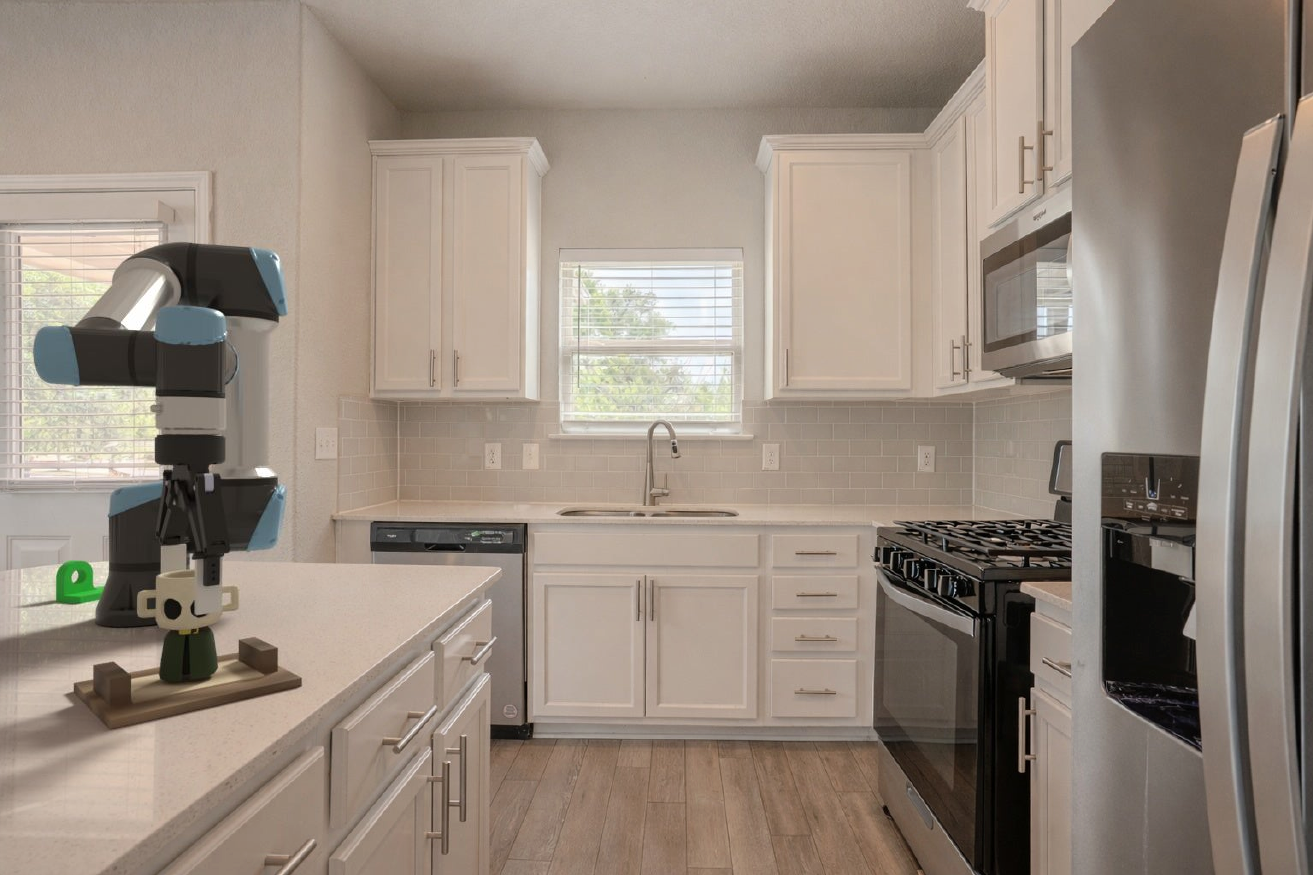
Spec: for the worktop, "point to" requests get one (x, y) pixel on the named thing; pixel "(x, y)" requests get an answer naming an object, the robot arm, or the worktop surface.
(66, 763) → the worktop surface
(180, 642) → the character mug
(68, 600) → the mechanical part
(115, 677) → the seating jig
